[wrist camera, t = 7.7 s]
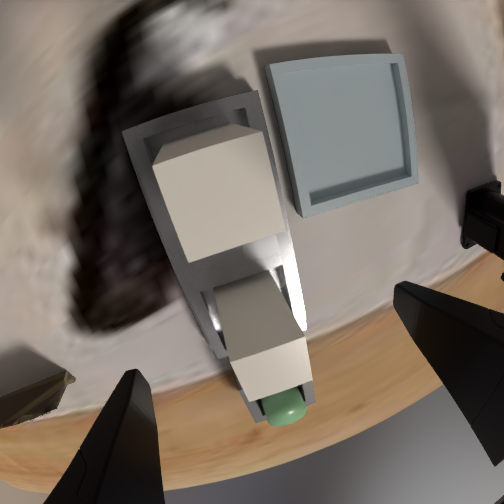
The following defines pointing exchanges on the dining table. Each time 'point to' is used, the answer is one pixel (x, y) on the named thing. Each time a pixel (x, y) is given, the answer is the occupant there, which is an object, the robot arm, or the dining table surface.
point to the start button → (284, 407)
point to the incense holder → (33, 400)
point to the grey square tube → (257, 407)
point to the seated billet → (262, 336)
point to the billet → (219, 189)
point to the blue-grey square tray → (344, 128)
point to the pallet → (230, 261)
